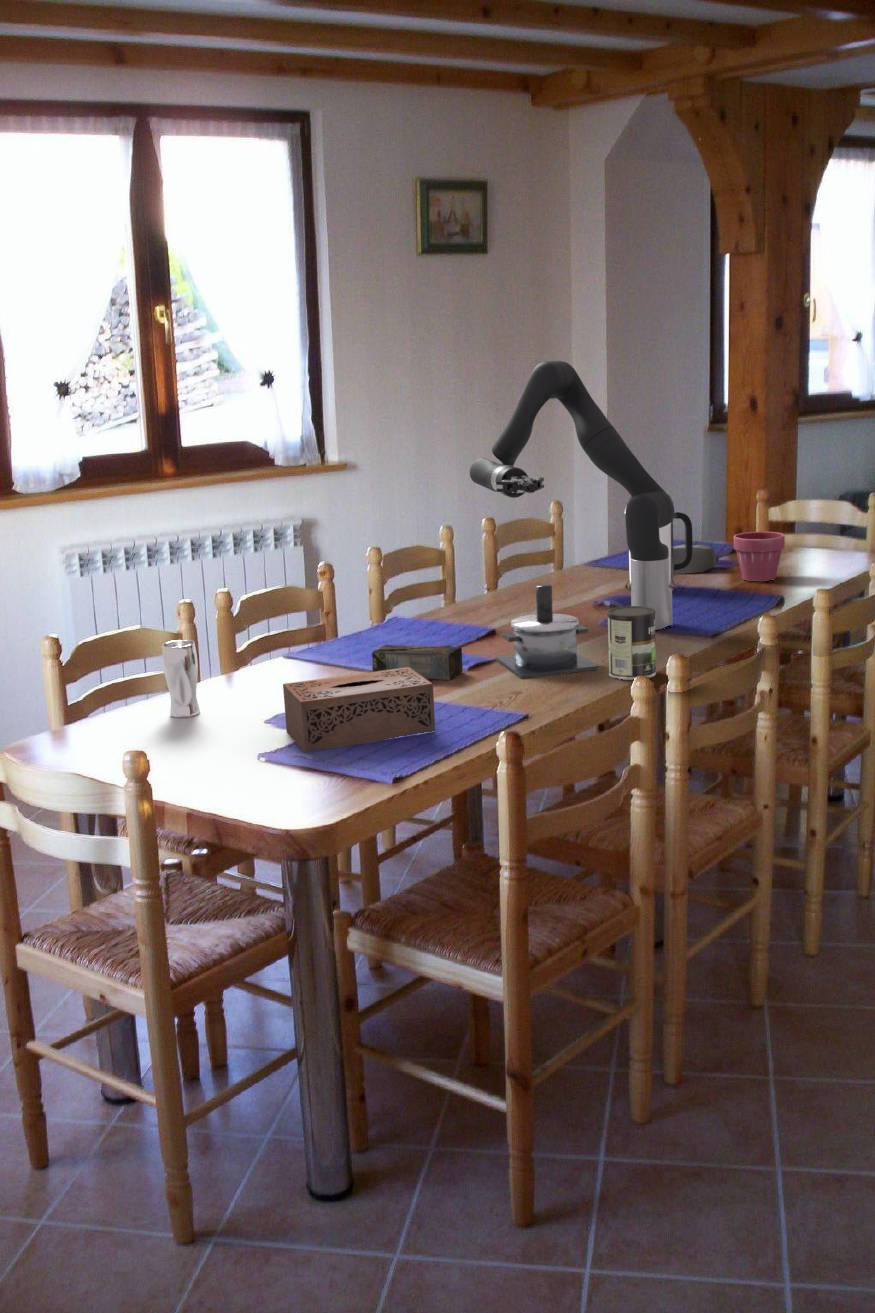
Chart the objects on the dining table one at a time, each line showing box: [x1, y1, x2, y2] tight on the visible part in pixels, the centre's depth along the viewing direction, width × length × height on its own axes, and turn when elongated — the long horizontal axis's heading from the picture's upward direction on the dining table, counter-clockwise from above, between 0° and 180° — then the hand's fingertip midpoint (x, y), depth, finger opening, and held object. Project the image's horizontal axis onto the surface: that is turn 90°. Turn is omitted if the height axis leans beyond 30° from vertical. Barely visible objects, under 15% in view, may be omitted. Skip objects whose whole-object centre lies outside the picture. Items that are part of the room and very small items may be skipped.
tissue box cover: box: [282, 667, 436, 753], centre depth 266 cm, size 26×14×10 cm, turn 109°
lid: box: [510, 583, 579, 633], centre depth 307 cm, size 15×15×9 cm
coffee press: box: [623, 492, 693, 590], centre depth 383 cm, size 17×16×30 cm
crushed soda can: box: [161, 639, 201, 719], centre depth 284 cm, size 7×7×15 cm
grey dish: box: [673, 544, 720, 575], centre depth 410 cm, size 18×11×8 cm, turn 81°
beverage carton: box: [371, 644, 464, 681], centre depth 307 cm, size 8×19×7 cm, turn 69°
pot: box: [495, 624, 599, 679], centre depth 309 cm, size 19×18×9 cm
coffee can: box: [606, 605, 657, 681], centre depth 297 cm, size 10×10×14 cm
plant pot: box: [733, 531, 786, 581], centre depth 390 cm, size 14×14×13 cm
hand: (532, 488), depth 331 cm, fingers closed
